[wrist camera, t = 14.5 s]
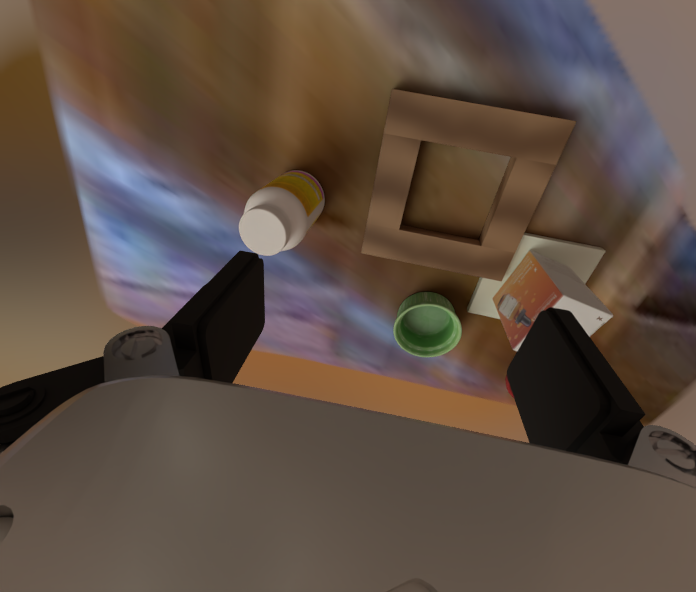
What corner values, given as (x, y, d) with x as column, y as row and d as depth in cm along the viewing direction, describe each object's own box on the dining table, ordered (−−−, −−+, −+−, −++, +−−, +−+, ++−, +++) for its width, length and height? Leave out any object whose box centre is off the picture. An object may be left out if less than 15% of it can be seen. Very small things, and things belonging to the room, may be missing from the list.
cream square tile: (500, 227, 40) (502, 230, 39) (601, 247, 39) (605, 251, 38) (467, 308, 46) (468, 312, 45) (552, 326, 45) (555, 330, 45)
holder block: (392, 89, 34) (391, 88, 32) (567, 120, 33) (576, 121, 31) (362, 246, 44) (361, 252, 42) (497, 274, 43) (501, 281, 41)
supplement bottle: (278, 162, 40) (229, 187, 29) (330, 177, 40) (301, 208, 29) (272, 214, 43) (227, 254, 32) (320, 228, 43) (291, 272, 32)
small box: (529, 248, 39) (564, 292, 31) (570, 266, 40) (617, 315, 31) (490, 298, 44) (511, 350, 35) (527, 314, 44) (557, 370, 35)
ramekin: (471, 305, 46) (476, 323, 42) (434, 347, 51) (437, 366, 47) (415, 276, 45) (415, 292, 41) (383, 322, 50) (381, 340, 46)
